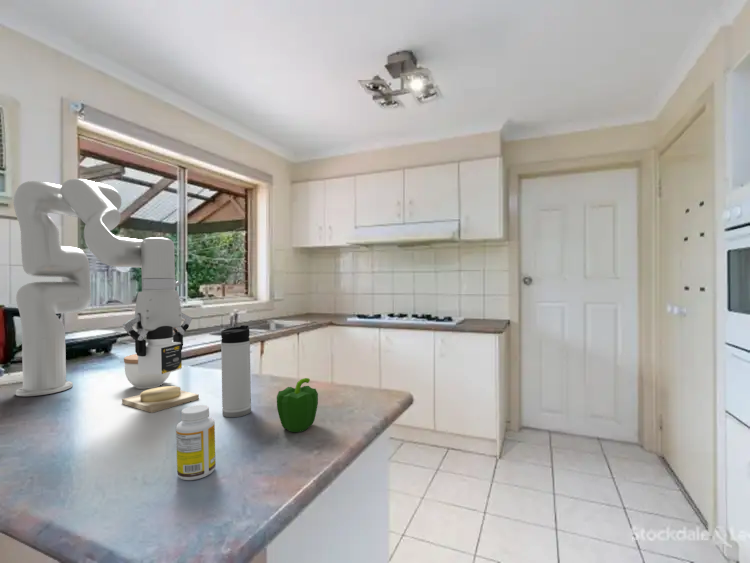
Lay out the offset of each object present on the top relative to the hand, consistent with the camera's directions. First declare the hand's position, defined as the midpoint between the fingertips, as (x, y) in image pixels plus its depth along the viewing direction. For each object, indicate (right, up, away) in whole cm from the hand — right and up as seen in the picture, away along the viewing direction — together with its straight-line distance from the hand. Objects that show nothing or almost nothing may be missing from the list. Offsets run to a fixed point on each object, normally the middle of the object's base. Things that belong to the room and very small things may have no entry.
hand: (160, 352), depth 99 cm
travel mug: (+23, -12, -10) cm, 28 cm away
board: (0, -13, 0) cm, 13 cm away
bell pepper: (+40, -12, -20) cm, 46 cm away
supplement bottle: (+27, -12, -38) cm, 48 cm away
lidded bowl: (-12, -13, +16) cm, 24 cm away
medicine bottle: (0, -5, 0) cm, 5 cm away
